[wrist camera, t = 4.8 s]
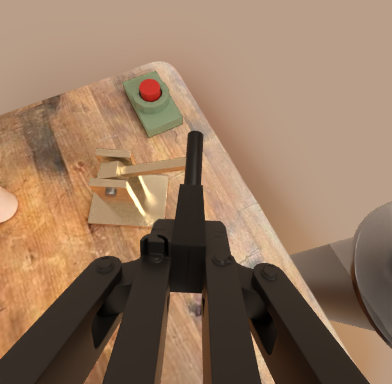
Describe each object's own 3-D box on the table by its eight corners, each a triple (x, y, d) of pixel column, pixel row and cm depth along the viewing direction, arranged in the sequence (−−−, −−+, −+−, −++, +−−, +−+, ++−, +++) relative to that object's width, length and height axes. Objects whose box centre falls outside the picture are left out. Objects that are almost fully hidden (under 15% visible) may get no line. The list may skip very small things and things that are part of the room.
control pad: (182, 124, 48) (182, 110, 44) (148, 137, 47) (145, 124, 43) (157, 79, 52) (154, 63, 48) (124, 90, 50) (119, 74, 46)
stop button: (164, 97, 46) (163, 90, 44) (145, 104, 45) (144, 97, 43) (155, 83, 47) (154, 76, 45) (137, 90, 46) (135, 82, 44)
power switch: (169, 178, 44) (163, 138, 32) (164, 229, 41) (156, 206, 29) (100, 174, 44) (68, 132, 32) (90, 224, 41) (50, 199, 29)
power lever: (206, 139, 30) (198, 127, 28) (203, 194, 27) (195, 186, 25) (116, 155, 35) (104, 146, 33) (107, 203, 32) (93, 197, 30)
